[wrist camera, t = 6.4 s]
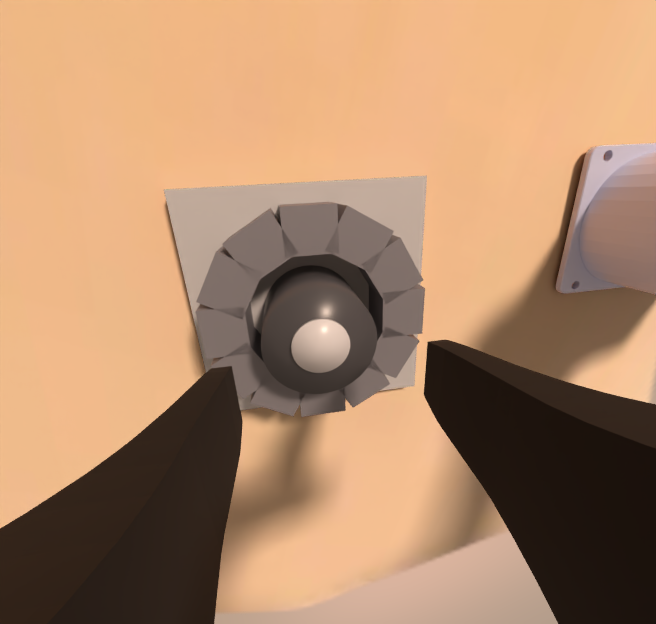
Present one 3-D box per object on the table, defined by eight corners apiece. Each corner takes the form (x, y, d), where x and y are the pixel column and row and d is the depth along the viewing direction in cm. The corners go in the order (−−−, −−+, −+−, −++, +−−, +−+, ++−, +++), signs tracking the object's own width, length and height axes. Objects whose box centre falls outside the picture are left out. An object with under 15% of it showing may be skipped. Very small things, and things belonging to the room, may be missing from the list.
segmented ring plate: (419, 176, 16) (453, 172, 13) (409, 378, 20) (432, 411, 17) (169, 189, 14) (141, 188, 11) (217, 405, 18) (206, 445, 15)
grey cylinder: (362, 270, 16) (389, 296, 12) (347, 352, 18) (367, 397, 14) (267, 260, 15) (264, 285, 11) (261, 348, 17) (257, 395, 13)
